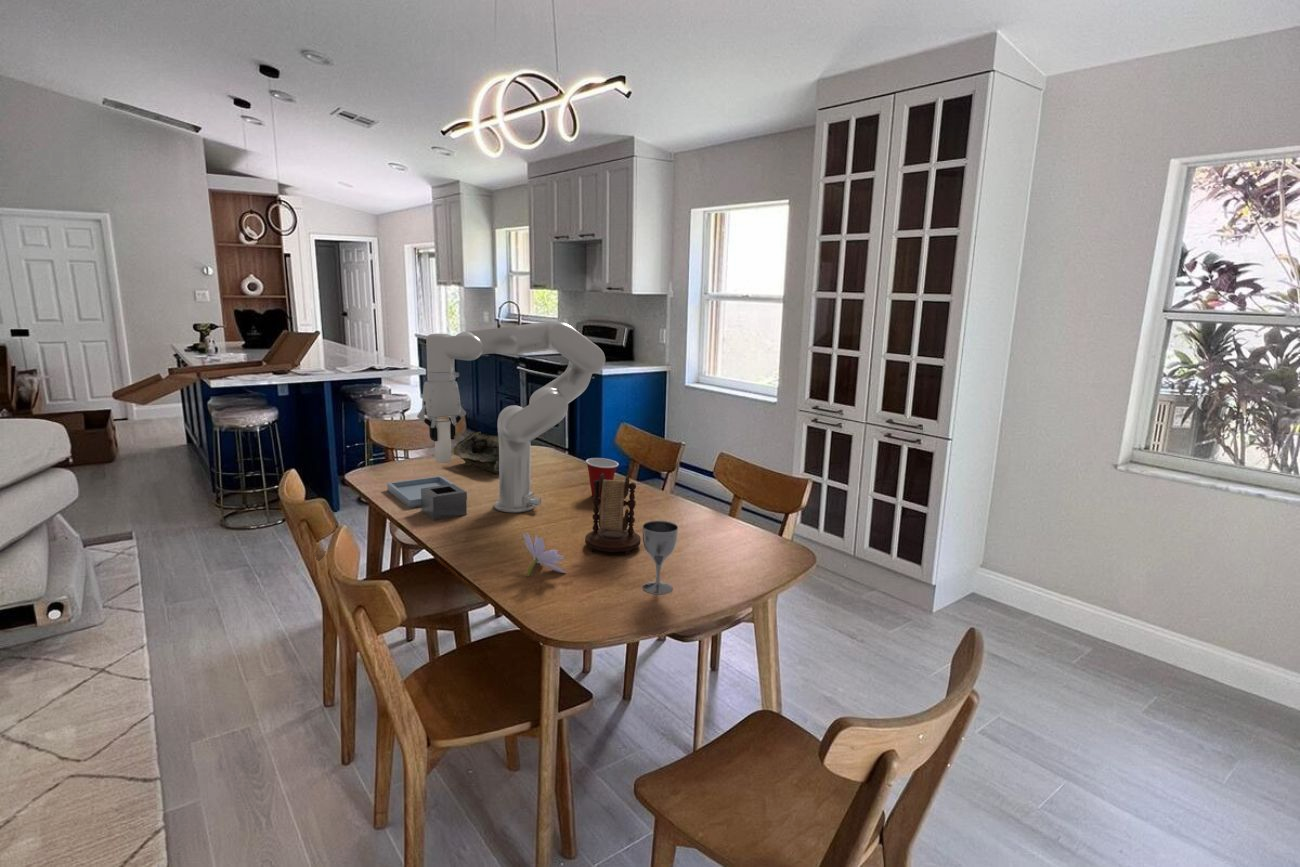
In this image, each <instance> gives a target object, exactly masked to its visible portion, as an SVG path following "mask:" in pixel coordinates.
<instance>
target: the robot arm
mask: <svg viewBox="0 0 1300 867" xmlns="http://www.w3.org/2000/svg"><path fill="white" fill-rule="evenodd" d="M425 342H426V344H425V345H426V347H425V348H426V373H427V375H426V376H427V378H426V379H427V381H424V384H423V388H422V389H423V390H422V398H421V399H422V400H421V401H422V402H421V403H422V404H421V409H420V410H419V412H418V414H417V415H416V417H417V419H419V420H420V421H421V422H423V423H424V424H426V425H427V426H428V428H429V438H430V440H431V441H433V442H435V441H437V428H436V427H435V424H436V420H438V419H437V418H445V417H447V418H448V419H447V420H450V426H451V441H452V440H455V437H456V435H457V434H456V426H457V425H458V423H459V422H460V421H461V419H462V418H464V417H465V416H466V415H467V411H466V410H465V409H464V408H463V407H462V405H461V397H460V390H459V385H458V381H456V378H459V377H460V373H459V372H456V371H455V370H456V369H455V360H459V361H474V360H477V359H478V358H480V357H481V356H482V355H488V354H489V355H490V354H504V355H505V354H506V355H515V356H516V355H526V354H532V353H539V352H546V351H553V350H554V351H556V352H557V353H558V354H560V355H561V356H563V357H564V358H565V359H566V360H568V365H567V367H566V369H565V370H564V372H563V373H562V374H560V375H559V376H558V377H556V378H555V379H553V380H552V381H550V382H548V383H546V384H545V385H544V386H542V387H540V388H538V389H537V390H535V391H533V393H532V394H531V396H530V397H529V403H528V405H527V406H525V407H522V406H519V405H516V404H515V405H508V406H506V407H504V408H503V409H502V410H501V411H500V413H499V414H498V418H497V424H496V425H497V436H498V438H499V474H498V479H499V480H498V485H499V486H498V487H499V489H498V492H499V495H498V497H499V499H497V500H495V502H494V503H493V506H494V507H493V508H494V509H495V510H497V511H499V512H504V513H523V512H528V511H531V510H533V509H535V507H536V506H538V507H540V506H542V498H541V497H535V495H534V494H535V493H534V491H531V489H532V488H531V484H532V483H531V480H532V479H531V471H532V470H531V467H532V465H531V464H532V462H531V459H532V458H531V456H532V451H531V450H532V448H531V442H532V441H533V440H534V439H536V438H538V437H539V436H540V435H543V434H544V433H546V432H547V431H549V430H550V429H552V428H553V427H555V426H556V425H558V424H559V423H561V421H562V420H563V419H564V418H565V417H566V415H567V413H568V409H569V404H570V403H571V402H573V401H574V400H575V399H577V398H578V397H579V396H581V395H582V394H583V393H584V392H585V391H586V390H587V388H588V386H589V384H590V382H591V379H592V375H593V374H597V373H599V372H600V371H602V369H603V368H604V366H605V364H606V356H605V353H604V351H603V350H602V348H600V347H599V345H597V344H595V343H594V342H592V340H590V339H588V338H587V337H586V336H585V335H583V334H582V333H580V332H579V331H578V330H577V329H575V328H574V327H573V326H572V325H570V324H568V323H566V322H564V321H563V322H561V321H557V320H550V321H543V322H535V323H527V324H521V325H520V324H519V325H517V324H516V325H508V326H501V327H495V328H485V329H477V330H475V329H474V330H468V331H467V330H466V331H463V332H462V331H461V332H459V333H457V334H456V335H451V334H449V333H430V334H428V335H427V337H426V341H425ZM426 416H427V417H428V418H427V417H426Z"/></svg>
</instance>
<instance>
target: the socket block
mask: <svg viewBox="0 0 1300 867" xmlns="http://www.w3.org/2000/svg"><path fill="white" fill-rule="evenodd" d="M454 484H455V483H453V484H449V485H442V486H435V487H428V488H421V507H420V508H421V512H422V513H423V514H425V515H426V516H428V517H429V518H430V519H431V520H433V521H439V520H443V519H450V518H454V517H459V516H460V517H461V516H466V515H467V514H468V512H467V507H468V506H467V499H466V492H467V491H466V490H465V489H463V488H461V487H460V486H458V485H457V484H455V485H454ZM456 485H457V486H458V487H457V486H456ZM459 487H460V488H459ZM462 489H463V490H462ZM464 490H465V491H466V492H465V491H464Z"/></svg>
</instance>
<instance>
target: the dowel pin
mask: <svg viewBox="0 0 1300 867" xmlns="http://www.w3.org/2000/svg"><path fill="white" fill-rule="evenodd" d="M435 427H436V428H437V441H434V457H435V458H434V461H435V463H437V464H445V463H451V462H452V439H451V426H450V420H449V419H436V424H435Z"/></svg>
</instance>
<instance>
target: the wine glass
mask: <svg viewBox="0 0 1300 867" xmlns="http://www.w3.org/2000/svg"><path fill="white" fill-rule="evenodd" d="M678 529H679V528H678V525H677V524H676V523H674V522H672V521H667V520H651V521H650V520H649V521H646V522H645V523H643V525H642V540H643V547H644V550H645V551H646V553H647V554H648V555H649V556H650V557H651V559H652V561H653V562H654V564H655V570H656V574H655V575H656V580H651V581H648V582H645V583H644V584H642V586H641V587H642V590H643V591H644V592H646V593H648V594H651V595H665V594H669V593H671V592H672V591H673V590H674V587H673V585H671V584H670V583H668V582H664V581H662V580H660V579H661V578H660V577H661V576H660V575H661V569H662V565H663V563H664V562H665V561H666V559H667V558H668V557H669V556H670V555H672V553H674V550H675V548H676V544H677V540H678V532H679V531H678Z"/></svg>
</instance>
